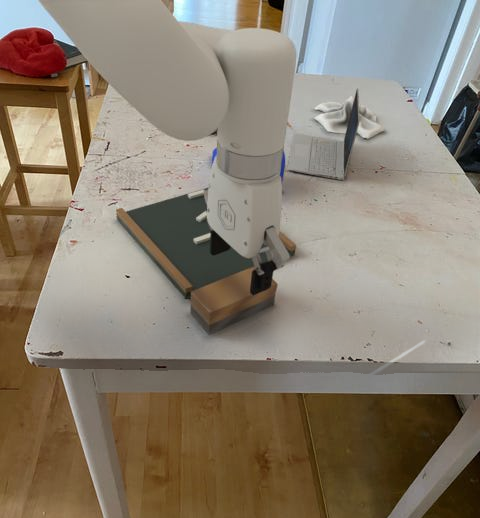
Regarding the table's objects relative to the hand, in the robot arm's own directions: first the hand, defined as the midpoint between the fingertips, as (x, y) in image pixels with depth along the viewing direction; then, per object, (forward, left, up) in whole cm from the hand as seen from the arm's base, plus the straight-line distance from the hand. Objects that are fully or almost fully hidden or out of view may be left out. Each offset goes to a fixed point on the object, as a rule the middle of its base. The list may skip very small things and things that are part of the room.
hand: (239, 270), depth 66 cm
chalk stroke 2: (+5, +16, -7) cm, 18 cm away
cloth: (+67, +43, -8) cm, 80 cm away
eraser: (0, 0, -8) cm, 8 cm away
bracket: (+25, +33, -8) cm, 42 cm away
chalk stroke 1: (+9, +22, -7) cm, 24 cm away
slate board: (+6, +18, -8) cm, 20 cm away
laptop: (+45, +31, -8) cm, 55 cm away
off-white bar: (+11, +28, -7) cm, 31 cm away
